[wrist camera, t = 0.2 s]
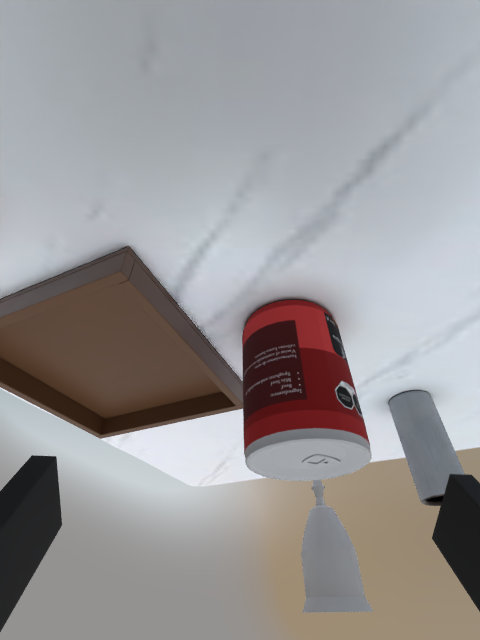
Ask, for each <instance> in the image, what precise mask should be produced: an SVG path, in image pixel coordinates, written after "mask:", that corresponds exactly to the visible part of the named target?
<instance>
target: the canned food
mask: <svg viewBox="0 0 480 640" xmlns="http://www.w3.org/2000/svg"><path fill="white" fill-rule="evenodd" d="M242 342H243V415H244V453H245V457H246V465H247V467H248V468H249V469H250V470H251V471H253V472H255V473H257V474H259V475H262V476H265V477H269V478H273V479H279V480H291V481H310V480H322V479H329V478H334V477H338V476H343V475H346V474H349V473H352V472H354V471H357V470H359V469H360V468H362V467H364V466H365V465H367V464H368V463H369V462H370V460H371V451H370V443H369V439H368V436H367V432H366V427H365V423H364V420H363V416H362V412H361V409H360V405H359V402H358V398H357V394H356V391H355V387H354V383H353V380H352V376H351V373H350V369H349V365H348V362H347V358H346V355H345V351H344V347H343V344H342V340H341V336H340V333H339V329H338V326H337V324H336V322H335V320H334V319H333V318H332V316H331V315H330V314H329V313H328V312H327V310H326V309H324V308H322V307H321V306H319V305H317V304H314V303H312V302H308V301H303V300H283V301H278V302H274V303H271V304H268V305H266V306H264V307H262V308H260V309H258V310H257V311H256V312H254V313H253V314H252V315H251V317H250V318H249V319H248V321H247V323H246V325H245V328H244V331H243V337H242Z"/></svg>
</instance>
